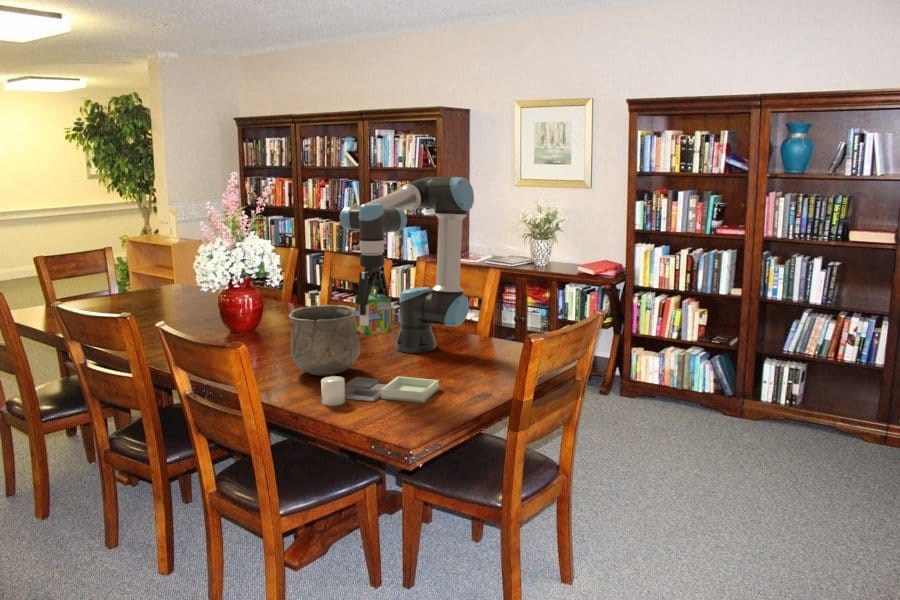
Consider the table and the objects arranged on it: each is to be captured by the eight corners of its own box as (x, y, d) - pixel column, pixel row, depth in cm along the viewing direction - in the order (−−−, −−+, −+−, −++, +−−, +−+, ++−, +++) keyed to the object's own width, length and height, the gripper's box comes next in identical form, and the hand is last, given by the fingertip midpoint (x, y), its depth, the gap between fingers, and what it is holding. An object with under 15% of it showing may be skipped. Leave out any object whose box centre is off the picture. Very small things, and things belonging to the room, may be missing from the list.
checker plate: (356, 379, 247) (356, 376, 246) (379, 382, 244) (379, 379, 244) (345, 387, 239) (345, 384, 239) (369, 389, 237) (369, 386, 236)
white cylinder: (328, 397, 238) (327, 375, 237) (349, 399, 236) (348, 377, 235) (317, 404, 232) (316, 382, 230) (338, 406, 230) (338, 384, 228)
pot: (277, 371, 265) (274, 310, 261) (336, 359, 280) (334, 301, 276) (314, 388, 247) (312, 323, 242) (375, 374, 261) (374, 312, 257)
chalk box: (354, 330, 248) (353, 285, 245) (380, 327, 252) (379, 282, 249) (365, 336, 240) (364, 289, 237) (392, 333, 244) (391, 287, 241)
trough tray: (397, 385, 250) (397, 376, 249) (438, 389, 245) (438, 380, 245) (380, 398, 237) (380, 389, 236) (423, 403, 232) (423, 393, 232)
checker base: (353, 384, 250) (352, 379, 250) (390, 388, 246) (390, 382, 246) (335, 397, 238) (334, 391, 238) (373, 401, 234) (373, 395, 234)
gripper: (376, 248, 254) (377, 312, 258) (343, 257, 231) (345, 328, 235) (397, 249, 251) (398, 314, 255) (366, 259, 229) (367, 329, 233)
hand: (372, 321), depth 245 cm, fingers closed on chalk box, 12 cm apart
